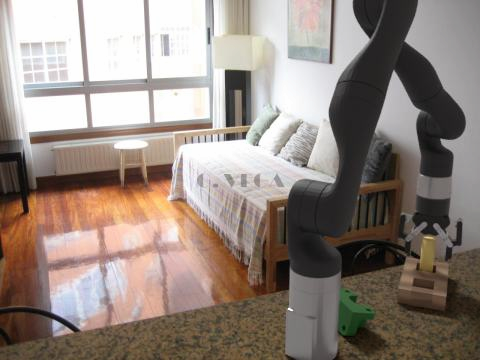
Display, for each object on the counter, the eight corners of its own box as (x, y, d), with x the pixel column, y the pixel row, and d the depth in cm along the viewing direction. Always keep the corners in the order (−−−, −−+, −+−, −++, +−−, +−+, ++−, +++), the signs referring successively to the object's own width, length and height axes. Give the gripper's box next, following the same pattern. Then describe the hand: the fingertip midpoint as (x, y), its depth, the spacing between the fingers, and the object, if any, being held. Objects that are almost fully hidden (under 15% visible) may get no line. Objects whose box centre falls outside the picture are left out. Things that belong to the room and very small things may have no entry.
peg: (428, 285, 124) (432, 242, 121) (416, 281, 126) (420, 239, 123) (433, 280, 126) (437, 238, 123) (421, 277, 128) (425, 235, 125)
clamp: (360, 349, 106) (382, 321, 101) (336, 348, 104) (356, 319, 99) (340, 303, 116) (358, 275, 111) (317, 301, 113) (334, 273, 109)
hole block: (444, 311, 112) (446, 296, 111) (396, 302, 116) (398, 288, 115) (447, 276, 128) (448, 263, 127) (405, 270, 132) (406, 257, 131)
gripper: (467, 191, 121) (459, 256, 125) (403, 185, 126) (398, 247, 130) (467, 201, 114) (459, 268, 118) (399, 194, 119) (394, 258, 124)
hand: (427, 257), depth 124 cm, fingers open, 8 cm apart
